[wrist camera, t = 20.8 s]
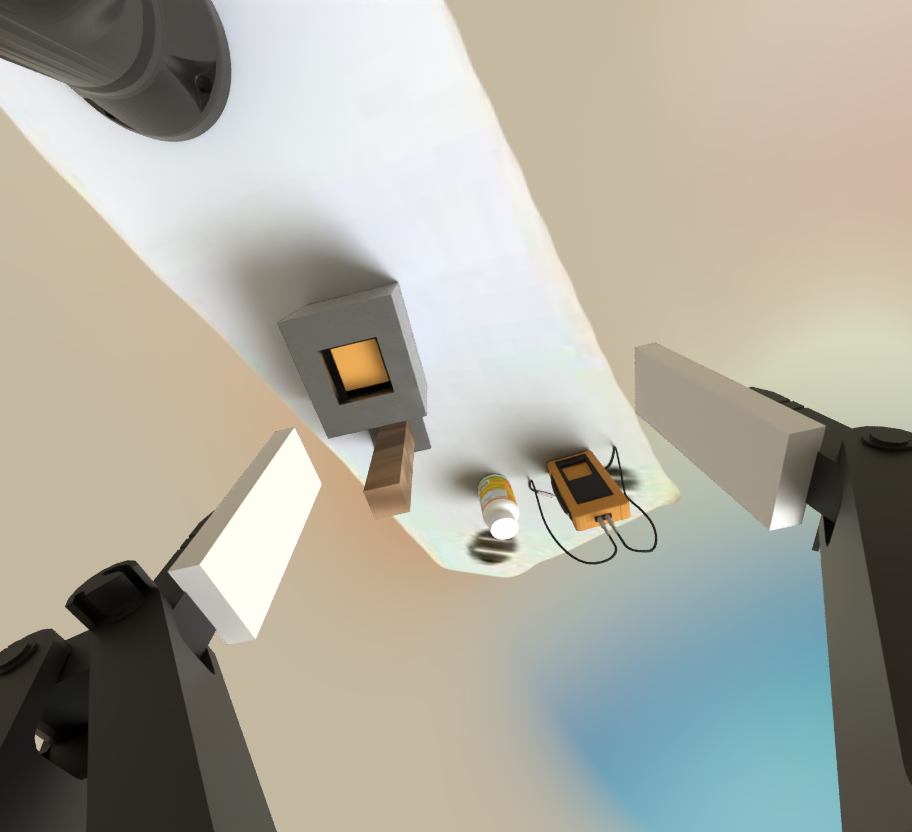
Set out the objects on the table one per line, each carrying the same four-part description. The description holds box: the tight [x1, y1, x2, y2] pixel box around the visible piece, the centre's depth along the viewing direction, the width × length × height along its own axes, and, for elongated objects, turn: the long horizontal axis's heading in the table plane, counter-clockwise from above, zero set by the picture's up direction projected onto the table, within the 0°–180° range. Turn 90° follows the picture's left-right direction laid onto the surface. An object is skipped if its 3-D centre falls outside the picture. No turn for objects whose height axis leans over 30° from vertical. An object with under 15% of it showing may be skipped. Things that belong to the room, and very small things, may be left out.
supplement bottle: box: [478, 474, 519, 539], centre depth 57 cm, size 5×5×10 cm
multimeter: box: [529, 446, 657, 564], centre depth 53 cm, size 15×10×20 cm
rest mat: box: [369, 417, 431, 452], centre depth 56 cm, size 8×8×1 cm
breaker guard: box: [277, 283, 427, 439], centre depth 46 cm, size 14×12×10 cm
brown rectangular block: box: [363, 420, 415, 519], centre depth 48 cm, size 4×4×16 cm
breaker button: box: [330, 337, 390, 391], centre depth 46 cm, size 5×5×6 cm
